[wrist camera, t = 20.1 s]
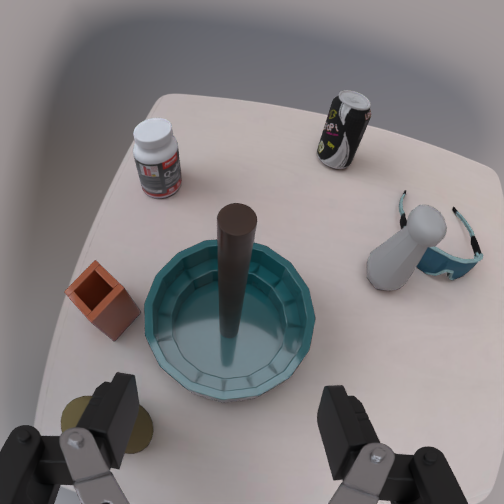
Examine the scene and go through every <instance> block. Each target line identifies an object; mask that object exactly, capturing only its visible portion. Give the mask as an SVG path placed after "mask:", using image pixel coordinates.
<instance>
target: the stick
mask: <svg viewBox="0 0 504 504" xmlns="http://www.w3.org/2000/svg"><path fill="white" fill-rule="evenodd" d="M256 225H257V216H256V214H255V212H254V211H253V210H252V209H251V208H250V207H249V206H247V205H244V204H240V203H233V204H229V205H227V206H225V207H223V208H222V209H221V210H220V212H219V214H218V216H217V246H218V293H219V325H220V333H221V334H222V336H224V337H226V338H233V337H235V336H236V335H237V334H238V331H239V325H240V319H241V313H242V307H243V301H244V296H245V290H246V284H247V278H248V272H249V266H250V260H251V255H252V249H253V243H254V237H255V231H256Z"/></svg>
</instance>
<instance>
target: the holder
mask: <svg viewBox="0 0 504 504" xmlns="http://www.w3.org/2000/svg"><path fill="white" fill-rule="evenodd" d="M65 294H66V295H67V296H68V297H69V298H70V300H71V301H72V302H73V303H74V304H75V305H76V306H77V308H78V309H79V310H80V311H81V312H82V313H83V314H84V315H85V316H86V317H87V319H88V320H89V321H90V322H91V323H92V324H93V325H95V326H96V327H97V328H98V329H99V330H101V331H102V332H103V333H104V334H105V335H107V336H108V337H109V338H110V339H112V340H113V341H115V340H116V339H117V338H118V337H119V336H120V335H121V334H122V332H123V331H124V330H125V329H126V328H127V327H128V326H129V325H130V324H131V323H132V322H133V321H134V319H135V318H136V317H137V316H138V315H139V314H140V313H141V311H140V310H139V309H138V307H137V306H136V304H135V303H134V301H133V300H132V298H131V297H130V295H129V294H128V293H127V291H126V290H125V288H124V287H123V286H122V285H121V284H120V283H119V282H118V281H117V280H116V279H115V278H114V277H113V276H112V275H111V274H109V273H108V272H107V271H106V270H105V269H104V268H103V267H102V266H101V265H100V264H99V263H98V262H97V261H96V260H95V261H94V262H93V263H92V264H91V265H90V266H89V267H88V268H87V269H86V270H85V271H84V272H83V273H82V274H81V275H80V276H79V277H78V278H77V279H76V280H75V281H74V282H73V283H72V284H71V285H70V286H69V287H68V288H67V289H66V290H65Z"/></svg>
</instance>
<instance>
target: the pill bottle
mask: <svg viewBox="0 0 504 504" xmlns="http://www.w3.org/2000/svg"><path fill="white" fill-rule="evenodd" d="M134 139H135V145H134V149H133V153H134V158H135V162H136V166H137V170H138V174H139V178H140V182H141V186H142V189H143V191H144V192H145V193H146V194H147V195H148V196H150V197H153V198H165V197H168V196H170V195H172V194H174V193H175V192H176V191H177V190H178V189H179V187H180V185H181V182H182V177H181V168H180V160H179V151H178V143H177V140H176V138H175V137H174V136H173V130H172V125H171V123H170V122H169V121H168V120H166V119H163V118H151V119H148V120H145V121H143V122H141V123H140V124H138V125H137V126H136V128H135V130H134Z"/></svg>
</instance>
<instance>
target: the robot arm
mask: <svg viewBox="0 0 504 504" xmlns="http://www.w3.org/2000/svg"><path fill="white" fill-rule="evenodd" d="M138 411H139V399H138V392H137V386H136V380H135V376H134V375H132V374H125V373H119V372H117V373H116V374H115V376H114V378H113V380H112V382H111V383H110V382H104V383H102V384H101V385H100V386H99V387H97V388H96V390H95V392H94V394H93V395H92V398H91V399H90V401H89V404H88V405H87V406H86V408H85V410H84V412H83V414H82V416H81V418H80V419H79V421H78V423H77V425H76V427H73V428H69V429H67V430H65V431H64V432H63V433H62V434H61V436H41V435H40V433H39V431H38V430H37V429H36V428H34V427H32V426H29V425H23V426H19V427H17V428H15V429H14V430H13V431H12V432H11V434H10V435H9V437H8V439H7V440H6V442H5V444H4V446H3V447H2V449H1V451H0V504H54V503H55V500H56V497H57V494H58V491H59V488H60V485H74V488H75V490H76V492H77V495H78V497H79V499H80V502H81V504H130V503H129V502H128V500H127V498H126V497H125V495H124V493H123V492H122V490H121V488H120V486H119V485H118V483H117V481H116V479H115V477H114V476H113V474H112V472H110V468H115V469H120V466H121V462H122V459H123V456H124V453H125V450H126V447H127V444H128V441H129V438H130V436H131V433H132V430H133V427H134V424H135V421H136V418H137V415H138ZM317 423H318V427H319V430H320V434H321V438H322V441H323V445H324V448H325V452H326V455H327V459H328V462H329V466H330V470H331V473H332V477H333V480H343V482H342V483H341V484H340V486H339V487H338V489H337V491H336V492H335V494H334V495H333V497H332V498H331V500H330V501H329V503H328V504H377V502H378V500H386V501H390V502H391V504H468V502H467V500H466V498H465V496H464V494H463V492H462V490H461V488H460V486H459V484H458V482H457V480H456V478H455V476H454V474H453V472H452V470H451V468H450V466H449V464H448V462H447V460H446V458H445V456H444V455H443V453H442V452H441V451H440V450H438V449H436V448H434V447H422V448H420V449H418V450H417V451H416V453H415V454H414V455H404V454H395V453H394V452H393V450H392V449H391V448H390V447H388V446H387V445H385V444H382V443H380V441H379V439H378V437H377V435H376V432H375V430H374V428H373V426H372V424H371V422H370V420H369V417H368V415H367V413H366V412H365V409H364V407H363V405H362V403H361V402H360V401H359V400H358V399H357V398H356V397H355V396H348V395H347V393H346V391H345V388H344V386H343V385H335V386H325V387H324V390H323V394H322V397H321V401H320V405H319V408H318V413H317Z"/></svg>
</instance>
